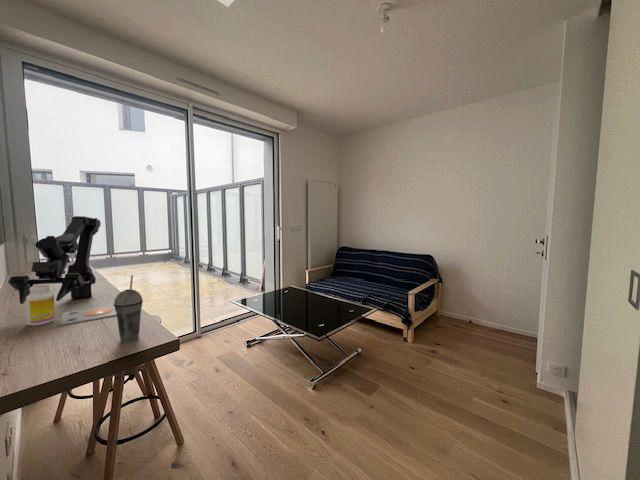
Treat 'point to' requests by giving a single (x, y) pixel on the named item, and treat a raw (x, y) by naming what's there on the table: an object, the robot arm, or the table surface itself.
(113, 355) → the table surface
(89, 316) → the plate
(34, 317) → the supplement bottle
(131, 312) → the beverage cup
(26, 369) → the table surface
